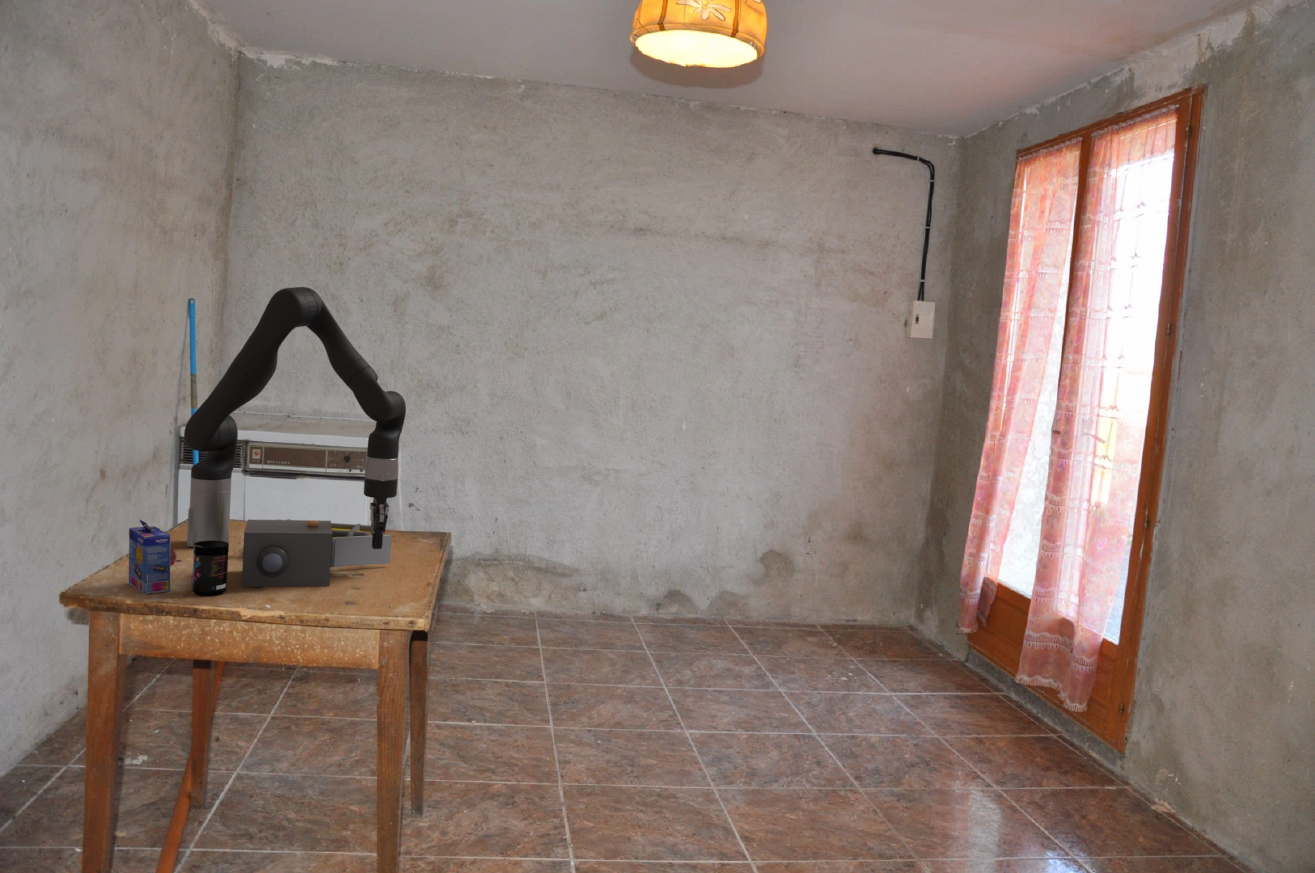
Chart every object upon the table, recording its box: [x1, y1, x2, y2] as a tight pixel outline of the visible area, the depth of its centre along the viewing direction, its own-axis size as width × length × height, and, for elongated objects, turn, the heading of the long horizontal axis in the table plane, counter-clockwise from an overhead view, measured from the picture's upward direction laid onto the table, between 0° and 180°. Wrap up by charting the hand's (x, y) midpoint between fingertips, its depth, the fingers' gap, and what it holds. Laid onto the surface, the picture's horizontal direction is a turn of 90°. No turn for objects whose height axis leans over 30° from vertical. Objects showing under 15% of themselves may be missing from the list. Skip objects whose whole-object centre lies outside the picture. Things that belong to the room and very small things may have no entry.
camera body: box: [241, 519, 332, 588], centre depth 212 cm, size 18×17×13 cm
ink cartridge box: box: [128, 519, 171, 595], centre depth 198 cm, size 10×6×14 cm, turn 46°
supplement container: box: [191, 541, 230, 597], centre depth 198 cm, size 7×7×10 cm
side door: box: [330, 534, 392, 568], centre depth 228 cm, size 1×14×7 cm, turn 125°
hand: (376, 548), depth 223 cm, fingers closed
